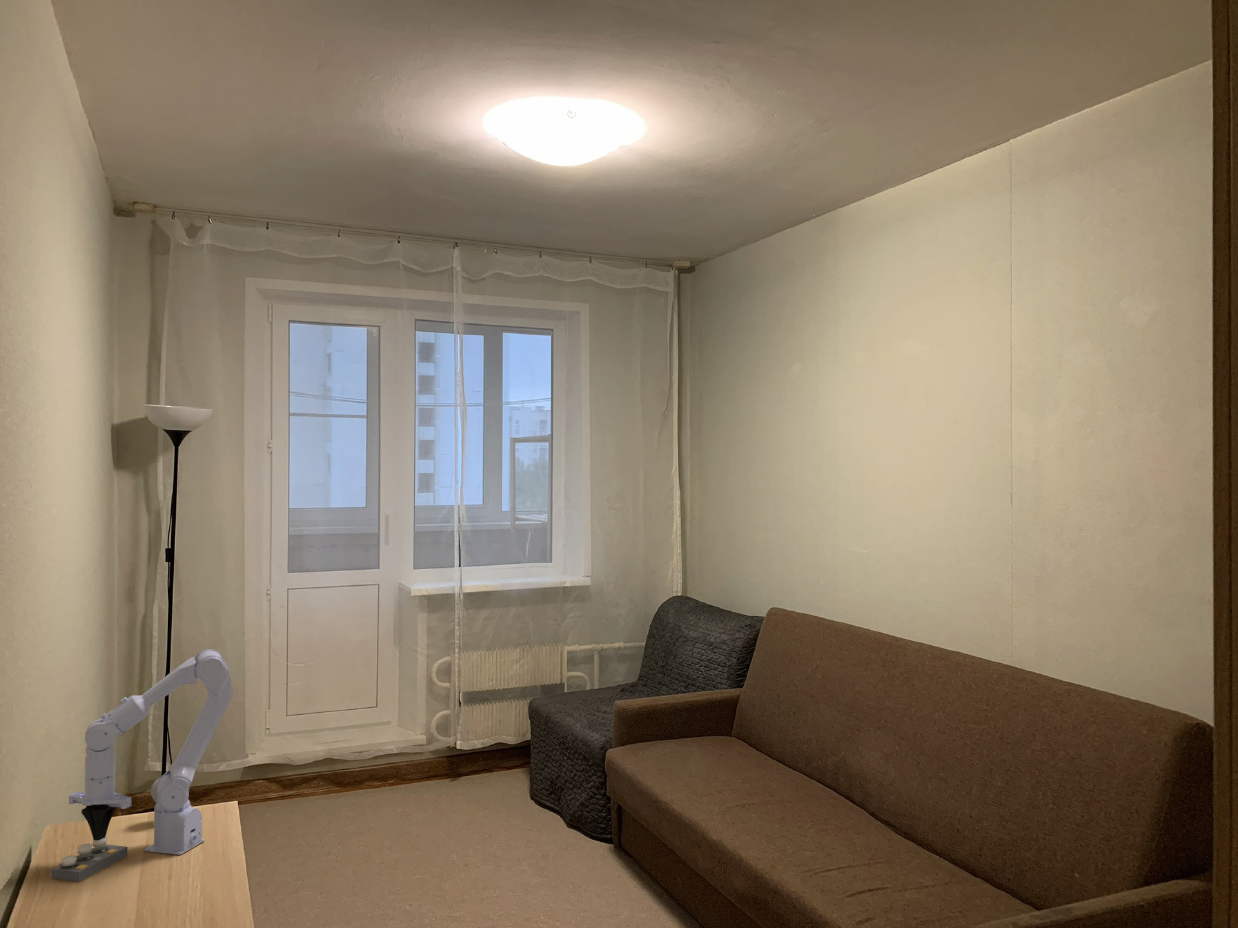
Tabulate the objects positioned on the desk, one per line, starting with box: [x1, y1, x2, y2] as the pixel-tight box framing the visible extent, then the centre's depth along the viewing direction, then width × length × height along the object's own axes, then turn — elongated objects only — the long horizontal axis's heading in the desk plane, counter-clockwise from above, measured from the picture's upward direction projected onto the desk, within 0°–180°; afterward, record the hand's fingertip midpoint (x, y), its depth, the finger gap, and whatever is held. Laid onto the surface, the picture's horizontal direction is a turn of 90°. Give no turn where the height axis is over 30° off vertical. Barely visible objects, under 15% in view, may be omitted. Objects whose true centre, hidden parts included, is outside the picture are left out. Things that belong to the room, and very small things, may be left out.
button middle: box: [77, 843, 93, 855], centre depth 189 cm, size 3×3×1 cm
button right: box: [92, 836, 108, 848], centre depth 193 cm, size 3×3×1 cm
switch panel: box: [50, 843, 129, 883], centre depth 189 cm, size 7×13×2 cm, turn 167°
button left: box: [61, 854, 78, 866], centre depth 185 cm, size 3×3×1 cm
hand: (99, 838), depth 193 cm, fingers closed
